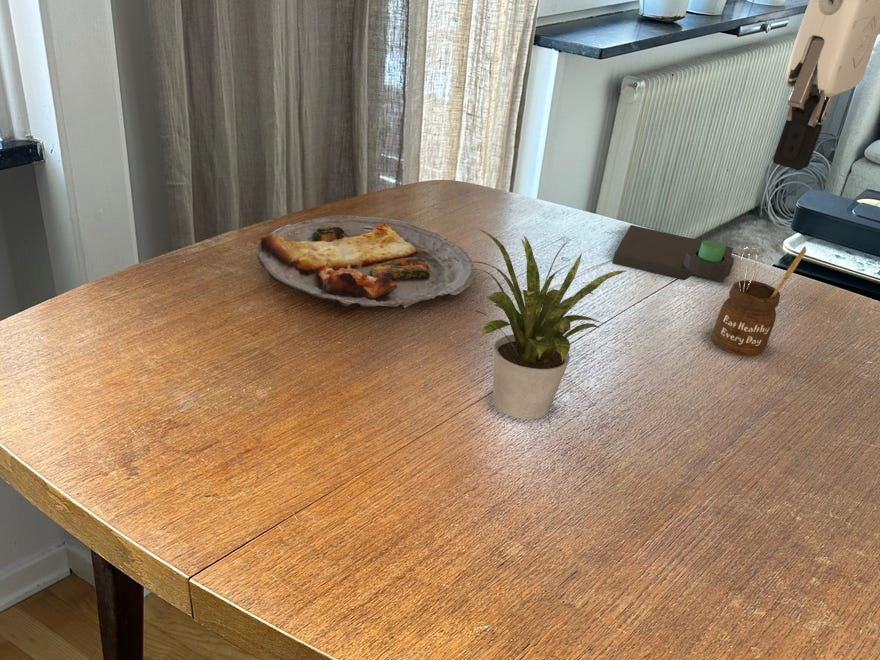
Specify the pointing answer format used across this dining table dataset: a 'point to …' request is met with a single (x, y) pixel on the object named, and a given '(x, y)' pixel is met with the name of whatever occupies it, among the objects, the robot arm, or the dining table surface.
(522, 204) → the dining table surface
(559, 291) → the house plant
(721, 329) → the utensil holder
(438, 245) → the food plate
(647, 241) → the green push button base
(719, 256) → the button
